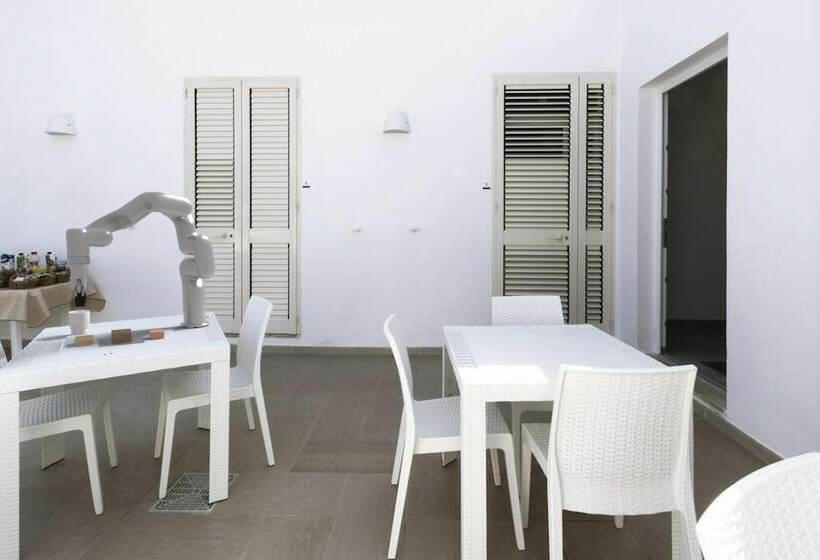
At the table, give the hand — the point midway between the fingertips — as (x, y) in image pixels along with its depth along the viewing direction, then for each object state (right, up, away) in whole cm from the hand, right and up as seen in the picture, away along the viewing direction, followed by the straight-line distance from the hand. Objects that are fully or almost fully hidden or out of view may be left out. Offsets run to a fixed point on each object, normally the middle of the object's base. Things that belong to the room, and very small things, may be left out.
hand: (80, 304), depth 218 cm
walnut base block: (+12, -15, +8) cm, 20 cm away
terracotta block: (+23, -15, +14) cm, 31 cm away
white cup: (-14, -14, +24) cm, 31 cm away
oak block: (0, -17, +2) cm, 17 cm away
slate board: (+12, -16, +8) cm, 21 cm away
